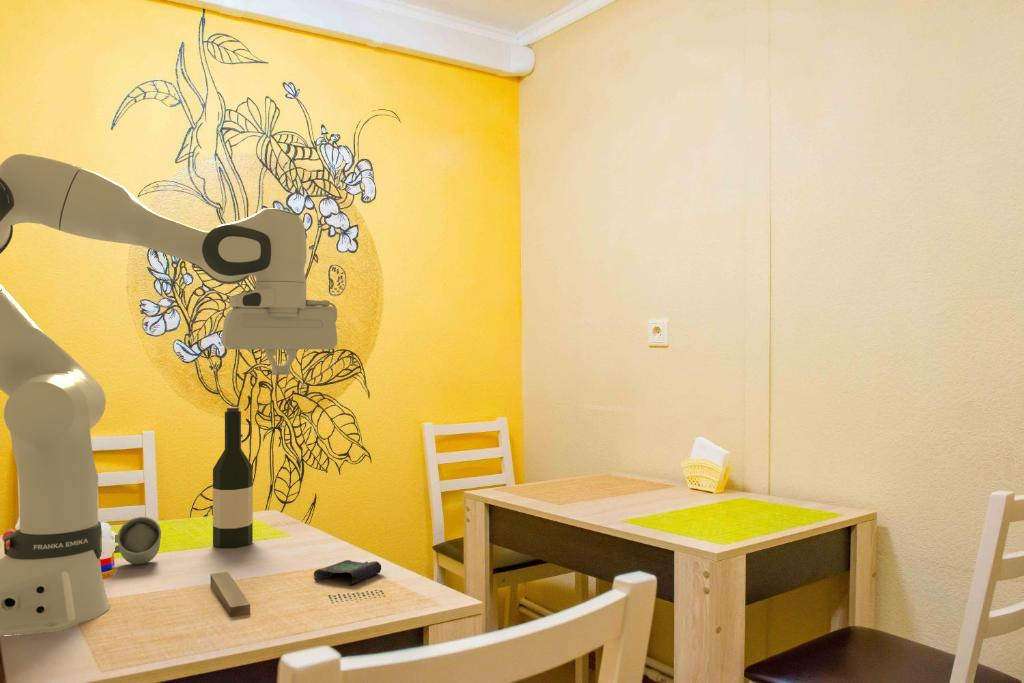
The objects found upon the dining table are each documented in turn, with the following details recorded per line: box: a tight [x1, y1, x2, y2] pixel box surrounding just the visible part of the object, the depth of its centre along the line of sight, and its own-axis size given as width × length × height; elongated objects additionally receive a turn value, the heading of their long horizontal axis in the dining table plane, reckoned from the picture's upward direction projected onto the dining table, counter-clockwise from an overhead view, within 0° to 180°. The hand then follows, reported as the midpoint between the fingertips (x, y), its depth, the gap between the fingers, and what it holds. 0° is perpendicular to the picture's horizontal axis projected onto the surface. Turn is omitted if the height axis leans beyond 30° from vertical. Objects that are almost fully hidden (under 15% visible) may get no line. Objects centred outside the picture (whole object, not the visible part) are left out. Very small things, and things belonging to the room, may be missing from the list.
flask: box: [313, 559, 382, 587], centre depth 148 cm, size 9×3×11 cm
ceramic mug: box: [113, 516, 162, 566], centre depth 158 cm, size 11×8×8 cm
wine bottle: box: [212, 406, 254, 549], centre depth 175 cm, size 8×8×30 cm
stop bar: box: [210, 571, 251, 618], centre depth 135 cm, size 3×20×3 cm, turn 29°
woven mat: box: [328, 589, 386, 604], centre depth 133 cm, size 10×11×2 cm
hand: (280, 374), depth 145 cm, fingers closed
